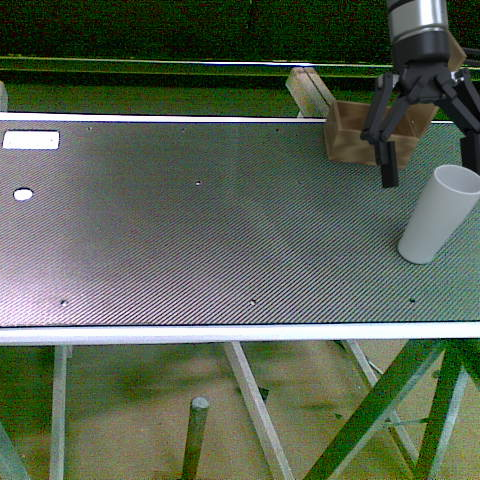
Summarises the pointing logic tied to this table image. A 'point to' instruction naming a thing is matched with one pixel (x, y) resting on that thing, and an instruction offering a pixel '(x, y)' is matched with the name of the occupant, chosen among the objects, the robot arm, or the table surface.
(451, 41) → the chest lid
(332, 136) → the chest
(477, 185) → the drinking glass
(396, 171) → the robot arm
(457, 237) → the table surface
